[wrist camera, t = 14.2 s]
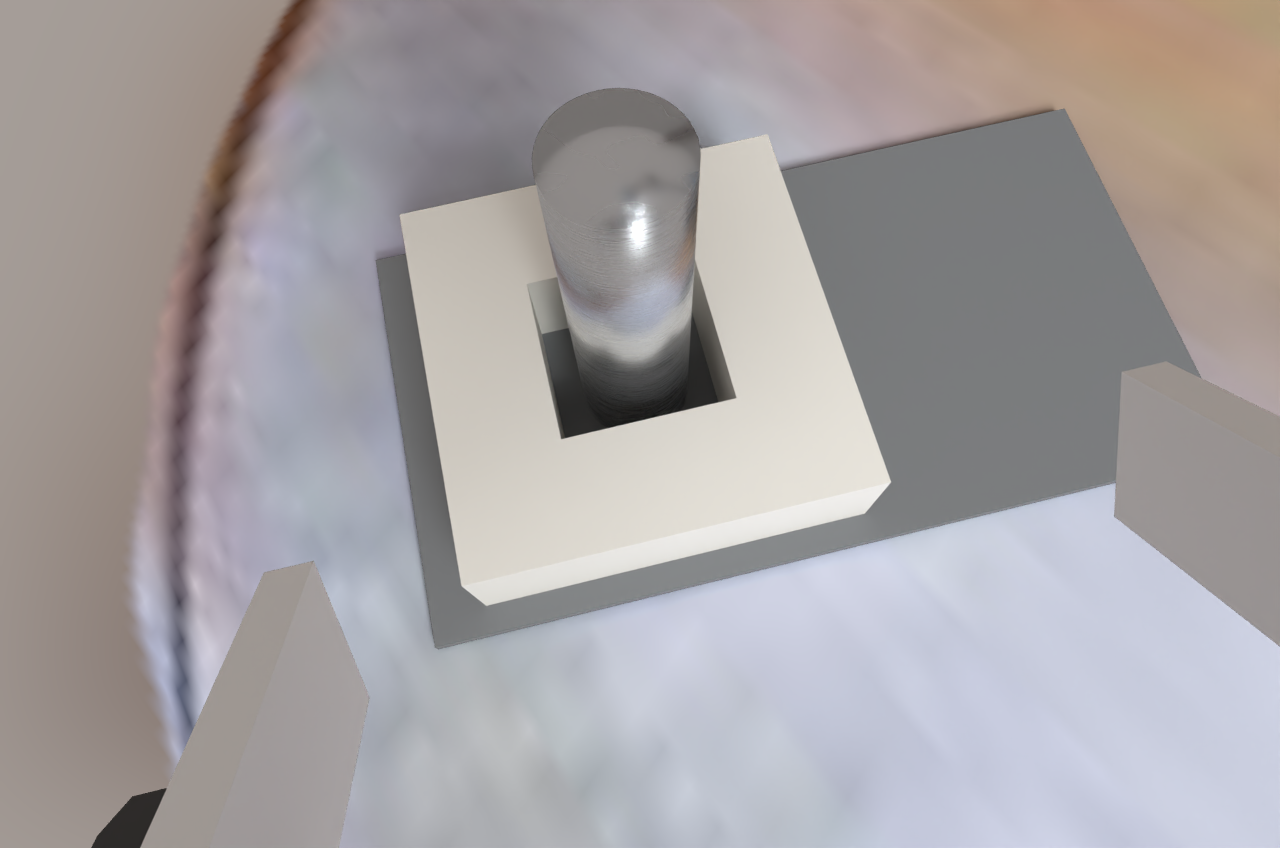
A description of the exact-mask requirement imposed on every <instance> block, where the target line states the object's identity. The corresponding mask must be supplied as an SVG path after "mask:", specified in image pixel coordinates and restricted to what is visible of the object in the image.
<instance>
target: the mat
mask: <svg viewBox="0 0 1280 848" xmlns="http://www.w3.org/2000/svg"><path fill="white" fill-rule="evenodd" d="M781 173H782V176H783V179H784V182H785V185H786V188H787V190H788V193H789V196H790V199H791V202H792V204H793V207H794V210H795V213H796V216H797V218H798V221H799V224H800V227H801V230H802V233H803V235H804V238H805V241H806V244H807V247H808V249H809V252H810V255H811V258H812V261H813V263H814V266H815V269H816V272H817V275H818V278H819V280H820V283H821V286H822V289H823V292H824V294H825V297H826V300H827V303H828V306H829V309H830V311H831V314H832V317H833V320H834V323H835V325H836V328H837V331H838V334H839V337H840V339H841V342H842V345H843V348H844V351H845V354H846V356H847V359H848V362H849V365H850V368H851V370H852V373H853V376H854V379H855V382H856V384H857V387H858V390H859V393H860V396H861V399H862V401H863V404H864V407H865V410H866V413H867V415H868V418H869V421H870V424H871V427H872V430H873V432H874V435H875V438H876V441H877V444H878V446H879V449H880V452H881V455H882V458H883V460H884V463H885V466H886V469H887V472H888V475H889V477H890V480H891V483H890V484H889V485H888V487H887V488H886V489H885V490H884V491H883V492H882V494H881V495H880V496H879V497H878V498H877V500H876V501H875V502H874V503H873V504H872V506H871V507H870V508H869V509H868V510H867V512H866V513H865V514H861V515H857V516H853V517H849V518H845V519H840V520H836V521H832V522H828V523H824V524H820V525H816V526H812V527H808V528H804V529H799V530H795V531H791V532H787V533H783V534H779V535H775V536H771V537H767V538H763V539H758V540H754V541H750V542H746V543H742V544H738V545H734V546H730V547H726V548H722V549H717V550H713V551H709V552H705V553H701V554H697V555H693V556H689V557H685V558H681V559H676V560H672V561H668V562H664V563H660V564H656V565H652V566H648V567H644V568H640V569H635V570H631V571H627V572H623V573H619V574H615V575H611V576H607V577H603V578H599V579H594V580H590V581H586V582H582V583H578V584H574V585H570V586H566V587H562V588H558V589H553V590H549V591H545V592H541V593H537V594H533V595H529V596H525V597H521V598H517V599H512V600H508V601H504V602H500V603H496V604H492V605H488V606H486V605H485V604H483V603H482V602H481V601H480V600H478V599H477V598H476V597H474V596H473V595H472V594H471V593H469V592H468V591H467V590H466V589H464V588H463V587H462V586H461V580H460V574H459V568H458V562H457V556H456V550H455V544H454V538H453V532H452V526H451V520H450V514H449V508H448V502H447V496H446V490H445V484H444V478H443V472H442V466H441V460H440V454H439V448H438V442H437V436H436V430H435V425H434V419H433V413H432V407H431V401H430V395H429V389H428V383H427V377H426V371H425V365H424V359H423V353H422V347H421V341H420V335H419V329H418V323H417V317H416V311H415V305H414V299H413V293H412V287H411V281H410V275H409V269H408V263H407V257H406V254H402V255H398V256H393V257H389V258H384V259H380V260H376V265H377V271H378V278H379V285H380V291H381V298H382V304H383V311H384V317H385V324H386V330H387V337H388V343H389V350H390V356H391V363H392V370H393V376H394V383H395V389H396V396H397V402H398V409H399V415H400V422H401V428H402V435H403V442H404V448H405V455H406V461H407V468H408V474H409V481H410V487H411V494H412V500H413V507H414V514H415V520H416V527H417V533H418V540H419V546H420V553H421V559H422V566H423V572H424V579H425V586H426V592H427V599H428V605H429V612H430V618H431V625H432V631H433V638H434V644H435V648H437V649H441V648H445V647H450V646H454V645H458V644H462V643H466V642H470V641H474V640H478V639H482V638H486V637H490V636H494V635H498V634H502V633H506V632H511V631H515V630H519V629H523V628H527V627H531V626H535V625H539V624H543V623H547V622H551V621H555V620H559V619H563V618H567V617H572V616H576V615H580V614H584V613H588V612H592V611H596V610H600V609H604V608H608V607H612V606H616V605H620V604H624V603H628V602H633V601H637V600H641V599H645V598H649V597H653V596H657V595H661V594H665V593H669V592H673V591H677V590H681V589H685V588H690V587H694V586H698V585H702V584H706V583H710V582H714V581H718V580H722V579H726V578H730V577H734V576H738V575H742V574H746V573H751V572H755V571H759V570H763V569H767V568H771V567H775V566H779V565H783V564H787V563H791V562H795V561H799V560H803V559H807V558H812V557H816V556H820V555H824V554H828V553H832V552H836V551H840V550H844V549H848V548H852V547H856V546H860V545H864V544H868V543H873V542H877V541H881V540H885V539H889V538H893V537H897V536H901V535H905V534H909V533H913V532H917V531H921V530H925V529H929V528H934V527H938V526H942V525H946V524H950V523H954V522H958V521H962V520H966V519H970V518H974V517H978V516H982V515H986V514H990V513H995V512H999V511H1003V510H1007V509H1011V508H1015V507H1019V506H1023V505H1027V504H1031V503H1035V502H1039V501H1043V500H1047V499H1051V498H1056V497H1060V496H1064V495H1068V494H1072V493H1076V492H1080V491H1084V490H1088V489H1092V488H1096V487H1100V486H1104V485H1108V484H1112V483H1116V471H1117V452H1118V432H1119V413H1120V394H1121V374H1122V372H1123V371H1128V370H1132V369H1136V368H1140V367H1145V366H1149V365H1153V364H1158V363H1162V362H1166V361H1167V362H1169V363H1171V364H1173V365H1175V366H1177V367H1179V368H1181V369H1183V370H1185V371H1187V372H1189V373H1191V374H1193V375H1195V376H1197V377H1199V378H1201V376H1200V374H1199V372H1198V370H1197V368H1196V366H1195V365H1194V363H1193V361H1192V359H1191V357H1190V355H1189V353H1188V351H1187V349H1186V347H1185V345H1184V343H1183V341H1182V339H1181V337H1180V335H1179V333H1178V331H1177V329H1176V327H1175V325H1174V323H1173V321H1172V319H1171V317H1170V315H1169V313H1168V311H1167V309H1166V307H1165V305H1164V304H1163V302H1162V300H1161V298H1160V296H1159V294H1158V292H1157V290H1156V288H1155V286H1154V284H1153V282H1152V280H1151V278H1150V276H1149V274H1148V272H1147V270H1146V268H1145V266H1144V264H1143V262H1142V260H1141V258H1140V256H1139V254H1138V252H1137V250H1136V248H1135V246H1134V244H1133V242H1132V241H1131V239H1130V237H1129V235H1128V233H1127V231H1126V229H1125V227H1124V225H1123V223H1122V221H1121V219H1120V217H1119V215H1118V213H1117V211H1116V209H1115V207H1114V205H1113V203H1112V201H1111V199H1110V197H1109V195H1108V193H1107V191H1106V189H1105V187H1104V185H1103V183H1102V181H1101V180H1100V178H1099V176H1098V174H1097V172H1096V170H1095V168H1094V166H1093V164H1092V162H1091V160H1090V158H1089V156H1088V154H1087V152H1086V150H1085V148H1084V146H1083V144H1082V142H1081V140H1080V138H1079V136H1078V134H1077V132H1076V130H1075V128H1074V126H1073V124H1072V122H1071V120H1070V119H1069V117H1068V115H1067V113H1066V111H1065V109H1060V110H1056V111H1051V112H1047V113H1042V114H1038V115H1033V116H1029V117H1024V118H1020V119H1015V120H1010V121H1006V122H1001V123H997V124H992V125H988V126H983V127H979V128H974V129H970V130H965V131H961V132H956V133H951V134H947V135H942V136H938V137H933V138H929V139H924V140H920V141H915V142H911V143H906V144H902V145H897V146H892V147H888V148H883V149H879V150H874V151H870V152H865V153H861V154H856V155H852V156H847V157H843V158H838V159H833V160H829V161H824V162H820V163H815V164H811V165H806V166H802V167H797V168H793V169H788V170H784V171H781ZM542 337H543V341H544V346H545V350H546V355H547V359H548V364H549V368H550V373H551V377H552V382H553V386H554V391H555V395H556V400H557V404H558V409H559V413H560V418H561V422H562V427H563V431H564V436H565V438H569V437H573V436H577V435H582V434H586V433H590V432H594V431H599V430H603V429H607V428H608V427H606V426H605V425H603V424H602V423H601V422H600V421H598V420H597V419H596V417H595V416H594V415H593V414H592V412H591V411H590V409H589V407H588V405H587V403H586V399H585V396H584V391H583V387H582V383H581V378H580V374H579V370H578V365H577V361H576V357H575V352H574V348H573V344H572V339H571V335H570V331H569V328H566V329H562V330H558V331H553V332H549V333H544V334H542ZM1201 379H1202V378H1201ZM714 403H718V399H717V396H716V392H715V389H714V386H713V382H712V379H711V375H710V372H709V368H708V365H707V362H706V358H705V355H704V351H703V348H702V344H701V341H700V338H699V334H698V331H697V327H696V324H695V321H694V317H693V314H692V315H691V332H690V349H689V366H688V383H687V394H686V399H685V402H684V404H683V406H682V408H681V410H680V411H684V410H688V409H692V408H697V407H701V406H705V405H710V404H714ZM680 411H679V412H680Z"/></svg>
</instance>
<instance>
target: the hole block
mask: <svg viewBox="0 0 1280 848" xmlns="http://www.w3.org/2000/svg"><path fill="white" fill-rule="evenodd" d="M700 152H701V162H700V179H699V196H698V213H697V230H696V247H695V264H694V281H693V298H692V314H693V317H694V321H695V324H696V327H697V331H698V334H699V338H700V341H701V344H702V348H703V351H704V355H705V358H706V362H707V365H708V368H709V372H710V375H711V379H712V382H713V386H714V389H715V392H716V396H717V399H718V403H714V404H710V405H705V406H701V407H697V408H692V409H688V410H684V411H680V412H675V413H671V414H667V415H663V416H658V417H654V418H650V419H646V420H641V421H637V422H633V423H628V424H624V425H620V426H616V427H611V428H607V429H603V430H599V431H594V432H590V433H586V434H582V435H577V436H573V437H569V438H565V436H564V431H563V427H562V422H561V418H560V413H559V409H558V404H557V400H556V395H555V391H554V386H553V382H552V377H551V373H550V368H549V364H548V359H547V355H546V350H545V346H544V341H543V337H542V334H544V333H549V332H553V331H558V330H562V329H566V328H569V326H568V322H567V318H566V313H565V309H564V305H563V300H562V296H561V292H560V287H559V283H558V279H557V274H556V270H555V266H554V261H553V257H552V253H551V248H550V244H549V240H548V235H547V231H546V227H545V222H544V218H543V214H542V209H541V205H540V201H539V196H538V192H537V188H536V185H533V186H528V187H523V188H519V189H514V190H510V191H505V192H501V193H496V194H491V195H487V196H482V197H478V198H473V199H468V200H464V201H459V202H455V203H450V204H445V205H441V206H436V207H432V208H427V209H422V210H418V211H413V212H409V213H404V214H400V221H401V227H402V233H403V239H404V245H405V251H406V257H407V263H408V269H409V275H410V281H411V287H412V293H413V299H414V305H415V311H416V317H417V323H418V329H419V335H420V341H421V347H422V353H423V359H424V365H425V371H426V377H427V383H428V389H429V395H430V401H431V407H432V413H433V419H434V425H435V430H436V436H437V442H438V448H439V454H440V460H441V466H442V472H443V478H444V484H445V490H446V496H447V502H448V508H449V514H450V520H451V526H452V532H453V538H454V544H455V550H456V556H457V562H458V568H459V574H460V580H461V586H462V587H463V588H464V589H466V590H467V591H468V592H469V593H471V594H472V595H473V596H474V597H476V598H477V599H478V600H480V601H481V602H482V603H483V604H485V605H486V606H488V605H492V604H496V603H500V602H504V601H508V600H512V599H517V598H521V597H525V596H529V595H533V594H537V593H541V592H545V591H549V590H553V589H558V588H562V587H566V586H570V585H574V584H578V583H582V582H586V581H590V580H594V579H599V578H603V577H607V576H611V575H615V574H619V573H623V572H627V571H631V570H635V569H640V568H644V567H648V566H652V565H656V564H660V563H664V562H668V561H672V560H676V559H681V558H685V557H689V556H693V555H697V554H701V553H705V552H709V551H713V550H717V549H722V548H726V547H730V546H734V545H738V544H742V543H746V542H750V541H754V540H758V539H763V538H767V537H771V536H775V535H779V534H783V533H787V532H791V531H795V530H799V529H804V528H808V527H812V526H816V525H820V524H824V523H828V522H832V521H836V520H840V519H845V518H849V517H853V516H857V515H861V514H865V513H866V512H867V510H868V509H869V508H870V507H871V506H872V504H873V503H874V502H875V501H876V500H877V498H878V497H879V496H880V495H881V494H882V492H883V491H884V490H885V489H886V488H887V487H888V485H889V484H890V483H891V480H890V477H889V475H888V472H887V469H886V466H885V463H884V460H883V458H882V455H881V452H880V449H879V446H878V444H877V441H876V438H875V435H874V432H873V430H872V427H871V424H870V421H869V418H868V415H867V413H866V410H865V407H864V404H863V401H862V399H861V396H860V393H859V390H858V387H857V384H856V382H855V379H854V376H853V373H852V370H851V368H850V365H849V362H848V359H847V356H846V354H845V351H844V348H843V345H842V342H841V339H840V337H839V334H838V331H837V328H836V325H835V323H834V320H833V317H832V314H831V311H830V309H829V306H828V303H827V300H826V297H825V294H824V292H823V289H822V286H821V283H820V280H819V278H818V275H817V272H816V269H815V266H814V263H813V261H812V258H811V255H810V252H809V249H808V247H807V244H806V241H805V238H804V235H803V233H802V230H801V227H800V224H799V221H798V218H797V216H796V213H795V210H794V207H793V204H792V202H791V199H790V196H789V193H788V190H787V188H786V185H785V182H784V179H783V176H782V173H781V171H780V168H779V165H778V162H777V159H776V157H775V154H774V151H773V148H772V145H771V142H770V140H769V137H768V134H767V135H762V136H758V137H753V138H748V139H744V140H739V141H735V142H730V143H726V144H721V145H716V146H712V147H707V148H703V149H700Z"/></svg>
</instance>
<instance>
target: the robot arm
mask: <svg viewBox="0 0 1280 848" xmlns="http://www.w3.org/2000/svg"><path fill="white" fill-rule="evenodd" d="M1114 517H1115V518H1117V519H1118V520H1119V521H1121V522H1122V523H1123V524H1124V525H1126V526H1127V527H1128V528H1129V529H1131V530H1132V531H1133V532H1135V533H1136V534H1137V535H1138V536H1140V537H1141V538H1142V539H1144V540H1145V541H1146V542H1147V543H1149V544H1150V545H1151V546H1152V547H1154V548H1155V549H1156V550H1158V551H1159V552H1160V553H1161V554H1163V555H1164V556H1165V557H1166V558H1168V559H1169V560H1170V561H1172V562H1173V563H1174V564H1175V565H1177V566H1178V567H1179V568H1180V569H1182V570H1183V571H1184V572H1186V573H1187V574H1188V575H1189V576H1191V577H1192V578H1193V579H1194V580H1196V581H1197V582H1198V583H1200V584H1201V585H1202V586H1203V587H1205V588H1206V589H1207V590H1208V591H1210V592H1211V593H1212V594H1214V595H1215V596H1216V597H1217V598H1219V599H1220V600H1221V601H1222V602H1224V603H1225V604H1226V605H1228V606H1229V607H1230V608H1231V609H1233V610H1234V611H1235V612H1236V613H1238V614H1239V615H1240V616H1242V617H1243V618H1244V619H1245V620H1247V621H1248V622H1249V623H1250V624H1252V625H1253V626H1254V627H1256V628H1257V629H1258V630H1259V631H1261V632H1262V633H1263V634H1264V635H1266V636H1267V637H1268V638H1270V639H1271V640H1272V641H1273V642H1275V643H1276V644H1277V645H1278V646H1280V417H1279V416H1277V415H1275V414H1273V413H1271V412H1269V411H1267V410H1265V409H1263V408H1261V407H1259V406H1257V405H1255V404H1252V403H1250V402H1248V401H1246V400H1244V399H1242V398H1240V397H1238V396H1236V395H1234V394H1232V393H1230V392H1228V391H1226V390H1224V389H1222V388H1220V387H1218V386H1216V385H1214V384H1212V383H1210V382H1207V381H1205V380H1203V379H1201V378H1199V377H1197V376H1195V375H1193V374H1191V373H1189V372H1187V371H1185V370H1183V369H1181V368H1179V367H1177V366H1175V365H1173V364H1171V363H1169V362H1167V361H1166V362H1162V363H1158V364H1153V365H1149V366H1145V367H1140V368H1136V369H1132V370H1128V371H1123V372H1122V374H1121V394H1120V413H1119V432H1118V452H1117V471H1116V490H1115V510H1114ZM369 698H370V697H369V695H368V692H367V690H366V687H365V685H364V682H363V680H362V678H361V675H360V673H359V670H358V668H357V665H356V663H355V660H354V658H353V656H352V653H351V651H350V648H349V646H348V643H347V641H346V639H345V636H344V634H343V631H342V629H341V626H340V624H339V622H338V619H337V617H336V614H335V612H334V609H333V607H332V605H331V602H330V600H329V597H328V595H327V592H326V590H325V587H324V585H323V583H322V580H321V578H320V575H319V573H318V570H317V568H316V566H315V563H314V561H312V562H307V563H303V564H299V565H294V566H290V567H286V568H282V569H277V570H273V571H269V572H265V573H264V574H263V576H262V578H261V580H260V583H259V585H258V587H257V589H256V591H255V594H254V596H253V598H252V600H251V603H250V605H249V607H248V609H247V611H246V614H245V616H244V618H243V620H242V623H241V625H240V627H239V629H238V631H237V634H236V636H235V638H234V640H233V643H232V645H231V647H230V649H229V651H228V654H227V656H226V658H225V660H224V663H223V665H222V667H221V669H220V671H219V674H218V676H217V678H216V680H215V683H214V685H213V687H212V689H211V691H210V694H209V696H208V698H207V700H206V703H205V705H204V707H203V709H202V712H201V714H200V716H199V718H198V720H197V723H196V725H195V727H194V729H193V732H192V734H191V736H190V738H189V740H188V743H187V745H186V747H185V749H184V752H183V754H182V756H181V758H180V760H179V763H178V765H177V767H176V769H175V772H174V774H173V776H172V778H171V780H170V783H169V785H168V787H167V788H165V789H161V790H157V791H153V792H149V793H145V794H141V795H137V796H132V798H131V799H130V800H129V801H128V802H127V803H126V804H125V805H124V807H123V808H122V809H121V810H120V811H119V812H118V813H117V814H116V816H115V817H114V818H113V819H112V820H111V821H110V823H108V825H107V826H106V827H105V828H104V829H103V830H102V831H101V833H99V835H98V836H97V838H96V840H95V842H94V844H93V846H92V848H339V845H340V840H341V835H342V830H343V825H344V820H345V815H346V810H347V805H348V801H349V796H350V791H351V786H352V781H353V776H354V771H355V766H356V761H357V757H358V752H359V747H360V742H361V737H362V732H363V727H364V722H365V717H366V713H367V708H368V703H369Z"/></svg>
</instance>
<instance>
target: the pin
mask: <svg viewBox="0 0 1280 848" xmlns="http://www.w3.org/2000/svg"><path fill="white" fill-rule="evenodd" d="M700 162H701V152H700V144H699V140H698V137H697V135H696V132H695V130H694V128H693V126H692V125H691V123H690V121H689V120H688V119H687V118H686V117H685V115H684V114H683V113H682V112H681V111H680V110H679V109H677V108H676V107H675V106H674V105H672V104H671V103H669V102H668V101H666V100H664V99H662V98H661V97H659V96H656V95H653V94H651V93H648V92H644V91H640V90H635V89H627V88H612V89H603V90H597V91H593V92H590V93H586V94H584V95H581V96H579V97H576V98H575V99H573V100H571V101H569V102H567V103H566V104H564V105H563V106H561V107H560V108H559V109H558V110H557V111H555V112H554V113H553V114H552V115H551V116H550V117H549V118H548V120H547V121H546V122H545V123H544V125H543V126H542V128H541V129H540V131H539V133H538V135H537V138H536V140H535V144H534V147H533V153H532V169H533V175H534V179H535V183H536V188H537V192H538V196H539V201H540V205H541V209H542V214H543V218H544V222H545V227H546V231H547V235H548V240H549V244H550V248H551V253H552V257H553V261H554V266H555V270H556V274H557V279H558V283H559V287H560V292H561V296H562V300H563V305H564V309H565V313H566V318H567V322H568V326H569V331H570V335H571V339H572V344H573V348H574V352H575V357H576V361H577V365H578V370H579V374H580V378H581V383H582V387H583V391H584V396H585V399H586V403H587V405H588V407H589V409H590V411H591V412H592V414H593V415H594V416H595V417H596V419H597V420H598V421H600V422H601V423H602V424H603V425H605V426H606V427H608V428H611V427H616V426H620V425H624V424H628V423H633V422H637V421H641V420H646V419H650V418H654V417H658V416H663V415H667V414H671V413H675V412H679V411H680V410H681V408H682V406H683V404H684V402H685V399H686V394H687V383H688V366H689V349H690V332H691V315H692V298H693V281H694V264H695V247H696V230H697V213H698V196H699V179H700Z"/></svg>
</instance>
